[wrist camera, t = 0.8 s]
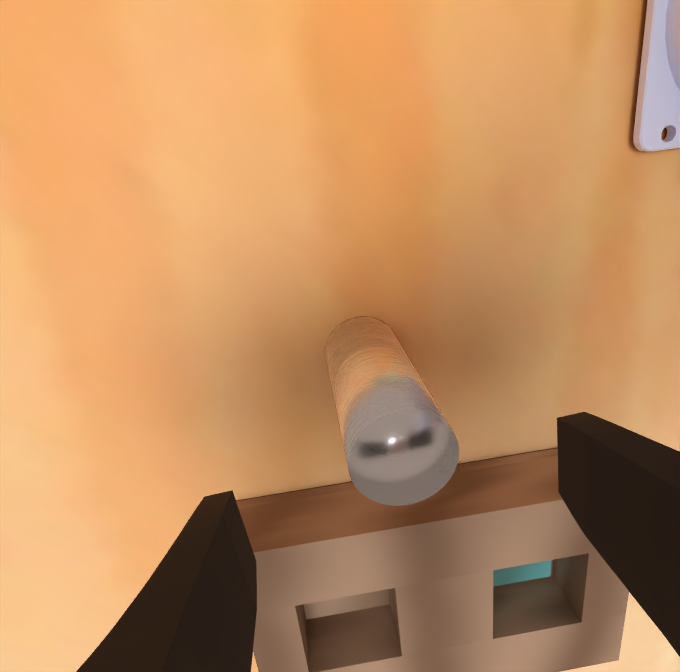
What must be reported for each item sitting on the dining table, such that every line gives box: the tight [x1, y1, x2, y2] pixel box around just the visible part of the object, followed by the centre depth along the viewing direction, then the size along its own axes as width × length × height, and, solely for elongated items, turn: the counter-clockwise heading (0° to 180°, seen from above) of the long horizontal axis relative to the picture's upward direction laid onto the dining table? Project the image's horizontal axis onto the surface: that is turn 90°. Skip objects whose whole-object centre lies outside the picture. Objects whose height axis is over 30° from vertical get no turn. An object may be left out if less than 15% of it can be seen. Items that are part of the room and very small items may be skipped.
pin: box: [326, 317, 459, 506], centre depth 15 cm, size 3×3×7 cm
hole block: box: [236, 448, 629, 672], centre depth 21 cm, size 16×10×3 cm, turn 97°
